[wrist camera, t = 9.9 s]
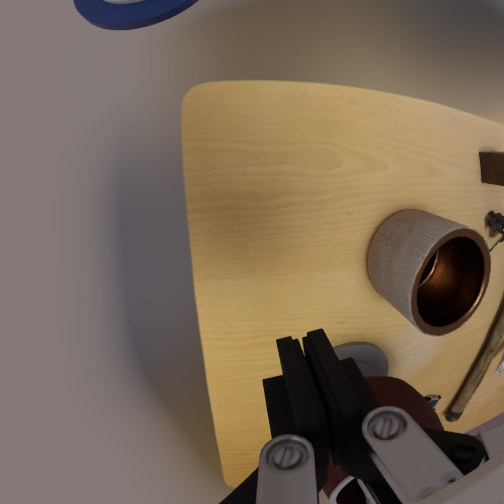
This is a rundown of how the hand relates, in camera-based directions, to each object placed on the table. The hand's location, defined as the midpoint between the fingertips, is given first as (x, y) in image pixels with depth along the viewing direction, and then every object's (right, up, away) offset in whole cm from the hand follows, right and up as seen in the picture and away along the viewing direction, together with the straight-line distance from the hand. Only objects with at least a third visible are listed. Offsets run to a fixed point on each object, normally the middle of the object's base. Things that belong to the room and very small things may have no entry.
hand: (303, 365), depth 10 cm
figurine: (+33, +6, +19) cm, 39 cm away
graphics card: (+26, -23, +29) cm, 45 cm away
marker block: (+30, +15, +19) cm, 38 cm away
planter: (+16, +4, +22) cm, 27 cm away
